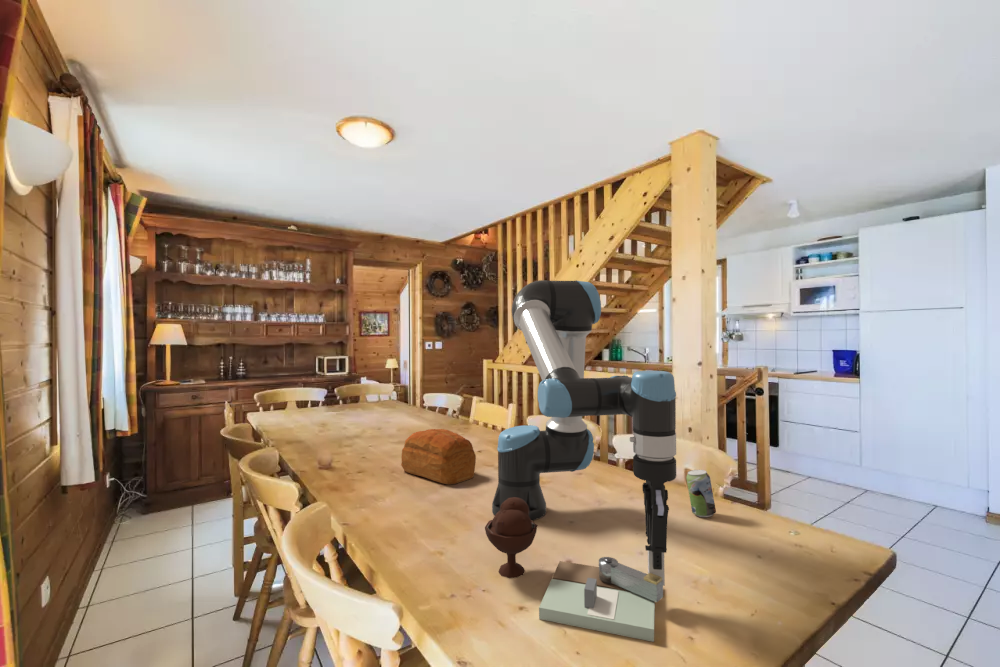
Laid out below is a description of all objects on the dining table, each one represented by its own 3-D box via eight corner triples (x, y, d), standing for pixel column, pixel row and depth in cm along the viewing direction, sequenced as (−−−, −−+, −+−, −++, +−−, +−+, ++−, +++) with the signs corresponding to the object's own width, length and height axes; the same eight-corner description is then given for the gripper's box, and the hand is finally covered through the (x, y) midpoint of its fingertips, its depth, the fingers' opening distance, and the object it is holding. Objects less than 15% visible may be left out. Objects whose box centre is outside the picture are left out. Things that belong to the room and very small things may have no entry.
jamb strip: (552, 587, 90) (552, 575, 90) (559, 570, 97) (559, 559, 97) (654, 605, 84) (654, 593, 84) (655, 585, 91) (655, 574, 91)
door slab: (539, 618, 80) (538, 589, 80) (551, 589, 90) (551, 562, 90) (653, 641, 74) (653, 609, 74) (654, 607, 84) (654, 578, 84)
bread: (445, 487, 151) (445, 439, 151) (397, 472, 169) (396, 428, 169) (480, 476, 163) (480, 431, 163) (431, 462, 181) (431, 422, 181)
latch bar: (595, 578, 89) (595, 559, 89) (605, 571, 92) (605, 553, 92) (655, 603, 81) (654, 583, 81) (664, 595, 83) (664, 575, 83)
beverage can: (718, 520, 122) (718, 475, 122) (689, 518, 124) (688, 473, 124) (712, 511, 129) (712, 468, 129) (684, 509, 130) (684, 467, 130)
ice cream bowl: (483, 560, 102) (483, 492, 102) (533, 557, 103) (533, 490, 103) (486, 586, 91) (485, 510, 91) (542, 583, 92) (541, 508, 92)
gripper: (629, 446, 92) (631, 564, 92) (637, 465, 79) (639, 602, 79) (668, 447, 91) (670, 566, 91) (683, 466, 78) (685, 605, 78)
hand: (656, 583), depth 85 cm, fingers closed
